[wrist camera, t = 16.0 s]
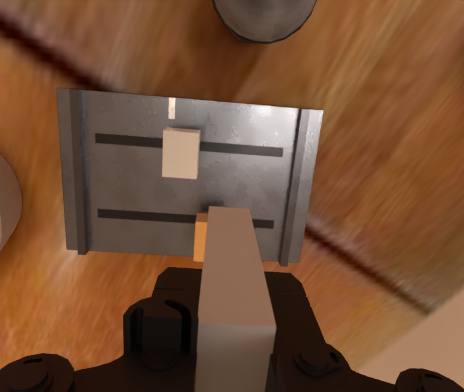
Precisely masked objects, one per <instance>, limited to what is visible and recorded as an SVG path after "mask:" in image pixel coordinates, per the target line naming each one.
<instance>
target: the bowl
mask: <svg viewBox="0 0 464 392" xmlns="http://www.w3.org/2000/svg"><path fill="white" fill-rule="evenodd" d="M21 211H22V194H21V189H20V185H19V182H18V180H17V178H16V175H15V173H14V171H13V170H12V168H11V167H10V165H9V164H8V162H7V161H6V160H5V159H4V158H3V157H2V156H1V155H0V251H1V250H2V248H3V247H4V245H5V244H6V242H7V241H8V239H9V237H10V236H11V234H12V233H13V231H14V230H15V228H16V226H17V224H18V222H19V220H20V216H21Z"/></svg>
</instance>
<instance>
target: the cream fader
mask: <svg viewBox="0 0 464 392" xmlns="http://www.w3.org/2000/svg"><path fill="white" fill-rule="evenodd" d="M200 132H201V130H194V129H181V128H169V127H167V128H166V129H164V130H163V160H162V177H173V178H187V179H197V176H198V168H199V150H200Z"/></svg>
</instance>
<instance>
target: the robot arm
mask: <svg viewBox="0 0 464 392" xmlns="http://www.w3.org/2000/svg"><path fill="white" fill-rule="evenodd" d="M123 337H124V354H123V356H121V357H120V358H118V359H116V360H114V361H112V362H110V363H107V364H103V365H100V366H96V367H92V368H87V369H82V370H77V371H74V368H73V367H72V365H71V364H70V362H69V360H68V359H66V358H64V357H62V356H59V355H57V354H45V353H41V354H36V355H31V356H26V357H23V358H21V359H19V360H16V361H14V362H11V363H9V364H8V365H6V366H5V367H3V368H2V369H0V392H464V389H463V388H462V387H461V386H459V385H458V384H457V383H456V382H454V381H453V380H451V379H449V378H447V377H445V376H443V375H441V374H439V373H436V372H433V371H429V370H426V369H415V368H412V369H411V368H410V369H407V370H405V371H403V372H401V373H400V374H399V376H398V378H397V380H396V383H395V385H394V384H391V383H387V382H384V381H381V380H378V379H374V378H371V377H367V376H365V375H362V374H359V373H357V372H355V371H353V370H351V368H350V366H349V364H348V362H347V361H346V360H345V358H344V357H343V355H342V354H341V353H340V352H339V351H338V350H336V349H335V348H334V347H332V346H331V345H329V344H327V343H326V342H325V340H324V337H323V335H322V333H321V330H320V328H319V325H318V323H317V320H316V318H315V315H314V313H313V310H312V308H311V307H310V303H309V301H308V298H307V297H306V293H305V291H304V288H303V286H302V283H301V282H300V281H299V280H297V279H296V278H295V277H294V276H293V275H292V274H291V273H281V272H265V271H264V270H263V266H262V262H261V257H260V253H259V248H258V244H257V240H256V235H255V231H254V227H253V222H252V218H251V214H250V209H244V208H230V207H215V206H209V211H208V221H207V231H206V240H205V250H204V260H203V269H193V268H176V267H168V268H167V269H166V270H165V271H164V272H162V273H161V274H160V275H159V276H158V278H157V281H156V284H155V287H154V290H153V293H152V296H151V297H149V298H146V299H142V300H140V301H138V302H136V303H135V304H133V305H132V306H130V307H129V308H128V310H127V311H126V312H125V314H124V315H123Z"/></svg>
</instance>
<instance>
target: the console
mask: <svg viewBox="0 0 464 392" xmlns="http://www.w3.org/2000/svg"><path fill="white" fill-rule="evenodd" d="M56 89H57V105H58V121H59V136H60V152H61V168H62V184H63V200H64V216H65V231H66V247H67V249H68V250H78V254H79V255H86V254H87V252H88V251H102V252H119V253H136V254H153V255H170V256H188V257H194V241H195V224H196V217H197V213H203V211H209V206H215V207H230V208H244V209H250V214H251V218H252V222H253V227H254V231H255V235H256V240H257V244H258V248H259V253H260V257H261V261H273V262H279V264H280V266H286V267H287V265H288V262H290V263H300V256H301V250H302V243H303V237H304V231H305V224H306V218H307V212H308V205H309V199H310V192H311V186H312V180H313V173H314V167H315V161H316V154H317V148H318V141H319V135H320V129H321V122H322V116H323V111H322V110H317V109H305V108H294V107H282V106H270V105H259V104H247V103H235V102H223V101H212V100H200V99H188V98H177V97H165V96H153V95H142V94H130V93H118V92H106V91H95V90H83V89H71V88H56ZM167 127H169V128H181V129H194V130H201V132H200V150H199V168H198V176H197V179H187V178H173V177H162V160H163V130H164V129H166V128H167Z"/></svg>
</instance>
